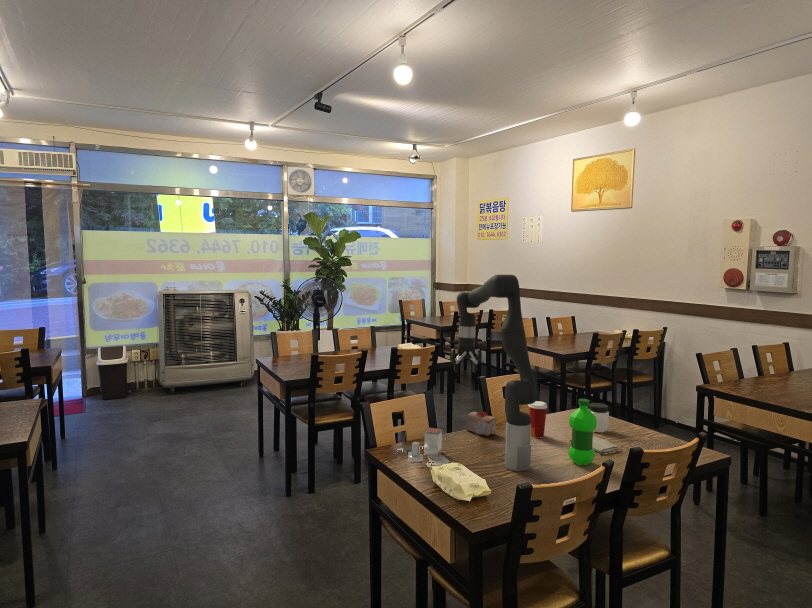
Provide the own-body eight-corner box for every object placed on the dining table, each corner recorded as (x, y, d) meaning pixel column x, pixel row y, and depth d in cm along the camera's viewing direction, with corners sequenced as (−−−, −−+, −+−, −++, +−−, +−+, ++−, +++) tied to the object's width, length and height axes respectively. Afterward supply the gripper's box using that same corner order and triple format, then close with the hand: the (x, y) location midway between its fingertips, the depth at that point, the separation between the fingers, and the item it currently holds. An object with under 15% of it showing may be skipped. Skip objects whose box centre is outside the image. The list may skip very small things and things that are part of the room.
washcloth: (601, 457, 215) (602, 449, 215) (567, 443, 231) (568, 436, 231) (621, 452, 221) (621, 445, 221) (587, 439, 237) (587, 432, 236)
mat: (453, 465, 203) (453, 464, 203) (413, 470, 198) (413, 469, 198) (431, 446, 224) (431, 445, 224) (395, 449, 219) (395, 449, 219)
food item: (498, 434, 241) (499, 413, 240) (488, 438, 235) (489, 416, 234) (473, 427, 250) (474, 407, 249) (463, 431, 244) (464, 410, 243)
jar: (601, 434, 242) (602, 408, 241) (584, 430, 248) (585, 405, 247) (610, 430, 248) (611, 405, 247) (593, 426, 254) (595, 401, 253)
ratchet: (425, 462, 204) (425, 445, 204) (410, 464, 202) (410, 446, 202) (413, 450, 217) (414, 433, 216) (399, 452, 215) (399, 435, 214)
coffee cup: (548, 435, 240) (550, 402, 239) (542, 440, 233) (544, 406, 232) (530, 431, 244) (531, 399, 243) (524, 436, 238) (525, 403, 236)
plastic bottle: (564, 458, 212) (566, 396, 210) (590, 458, 212) (593, 397, 210) (571, 467, 202) (573, 403, 200) (599, 468, 202) (602, 403, 200)
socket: (442, 452, 216) (442, 429, 215) (438, 456, 210) (438, 433, 210) (428, 450, 218) (428, 427, 217) (423, 454, 213) (424, 431, 212)
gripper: (455, 336, 235) (453, 373, 236) (484, 337, 239) (483, 373, 240) (449, 335, 243) (447, 370, 243) (478, 335, 247) (476, 370, 247)
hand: (465, 372), depth 241 cm, fingers open, 8 cm apart
